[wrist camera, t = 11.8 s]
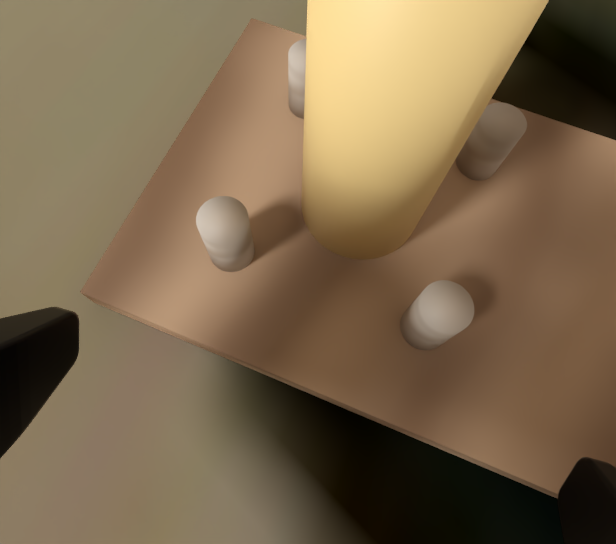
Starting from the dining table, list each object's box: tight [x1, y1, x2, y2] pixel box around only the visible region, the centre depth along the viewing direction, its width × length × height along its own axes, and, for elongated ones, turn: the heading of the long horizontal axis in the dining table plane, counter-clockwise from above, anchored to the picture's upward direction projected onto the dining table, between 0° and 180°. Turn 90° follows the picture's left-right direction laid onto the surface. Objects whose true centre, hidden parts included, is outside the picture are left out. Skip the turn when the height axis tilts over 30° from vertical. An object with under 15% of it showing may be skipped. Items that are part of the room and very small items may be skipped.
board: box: [80, 18, 616, 499], centre depth 16 cm, size 26×14×4 cm, turn 68°
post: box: [301, 0, 549, 260], centre depth 12 cm, size 4×4×11 cm
